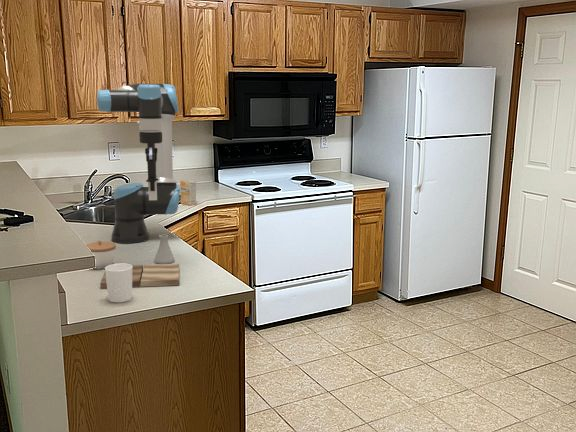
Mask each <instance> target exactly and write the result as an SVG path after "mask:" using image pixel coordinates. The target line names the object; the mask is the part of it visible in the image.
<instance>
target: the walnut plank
mask: <svg viewBox="0 0 576 432" xmlns="http://www.w3.org/2000/svg"><path fill="white" fill-rule="evenodd" d="M131 265H132V289H133V288H140V287H141V277H142V273H143V268H144V265H143V264H134V265H133V264H131ZM99 286H100V287H99V288H100V289H101V290H105V289H106V290H107V283H106V274H105V272H104V274H103V276H102V277H101V280H100V282H99Z"/></svg>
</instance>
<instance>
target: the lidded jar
mask: <svg viewBox="0 0 576 432" xmlns="http://www.w3.org/2000/svg"><path fill="white" fill-rule="evenodd" d="M85 245H86V246H87V247H88V248H89V249H90V250H91V252H92V253H93V254H94V255H95V259H96V268H97V269H98V270H101V269H102V268H103V269H105V267H106V266H108V265H111V264H114V261H115V260H116V256H117V255H116V252H117V251H116V249H117V244H116V242H113V241H112V242H111V241H102V240H98V241H95V242H89V243H86V244H85ZM97 269H96V270H97Z"/></svg>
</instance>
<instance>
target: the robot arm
mask: <svg viewBox="0 0 576 432" xmlns="http://www.w3.org/2000/svg"><path fill="white" fill-rule="evenodd" d="M177 97H178V96H177V89H176V87H175V85H173V84H167V83H132V84H127V85H123V86H120V87H118V88H116V89H99V90H98V91H97V95H96V103H97V105H96V106H97V108H98V111H99V112H101V113H102V112H103V113H138V121H137V122H136V124H137V125H139V126H138V127H139V128H138V130H139V131H140V132H139V134H138V135H139V137H138V138H139V143H141V144H147V147H145V148H144V154H145V161H146V165H147V179H146V181H145V182H147V186H144V184H143V183H142V182H132V183H125V184H122V185H119V186H116V187H115V188H114V190H113V201H114V225H113V229H112V232H111V241H112V242H113V243H119V244H137V243H138V244H139V243H142V242H145V241H148V240H149V238H150V236H149V235H150V233H149V230H148V228H147V226H146V225H147V224H146V222H145V216H146V215H157V216H158V215H165V216H166V215H175V214H176V213H177V212H178V209H179V204H180V197H181V193H180V186H177V181H176V180H175V179H174V175H173V125H172V124H173V123H172V122H173V120H174V119H175V118H176V114H177V113H179V112H180V110H179V102H178V98H177Z"/></svg>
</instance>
